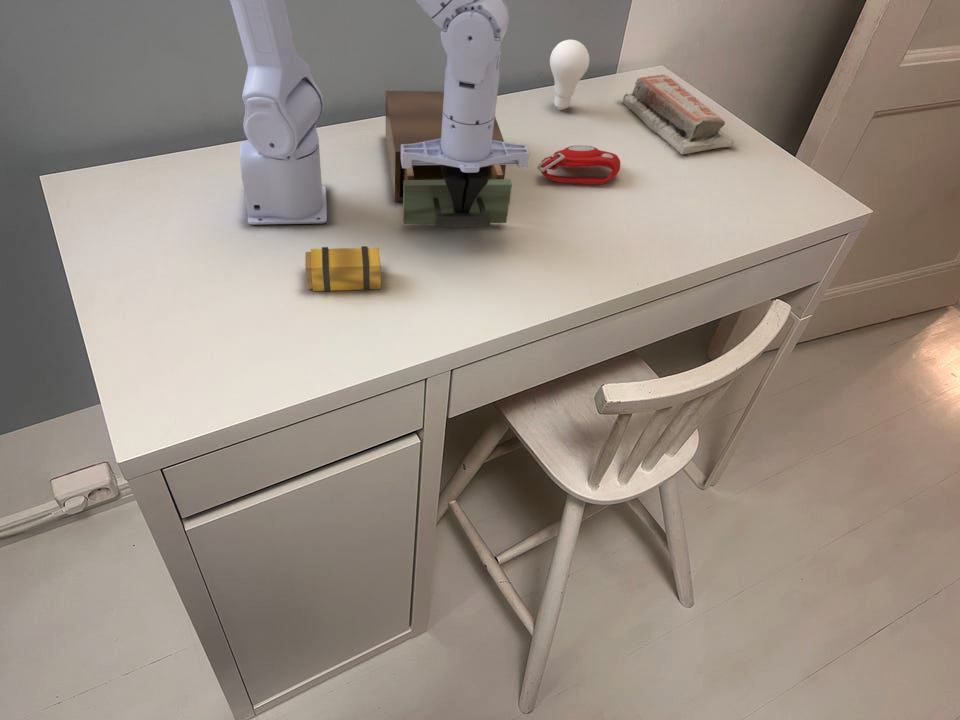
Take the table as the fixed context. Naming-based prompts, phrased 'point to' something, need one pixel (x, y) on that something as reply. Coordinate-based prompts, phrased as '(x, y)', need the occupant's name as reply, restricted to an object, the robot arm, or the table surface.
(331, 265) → the pencil bundle
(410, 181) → the drawer
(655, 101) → the packaged product
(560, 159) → the tracker holder
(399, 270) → the table surface
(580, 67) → the lightbulb
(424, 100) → the cabinet
